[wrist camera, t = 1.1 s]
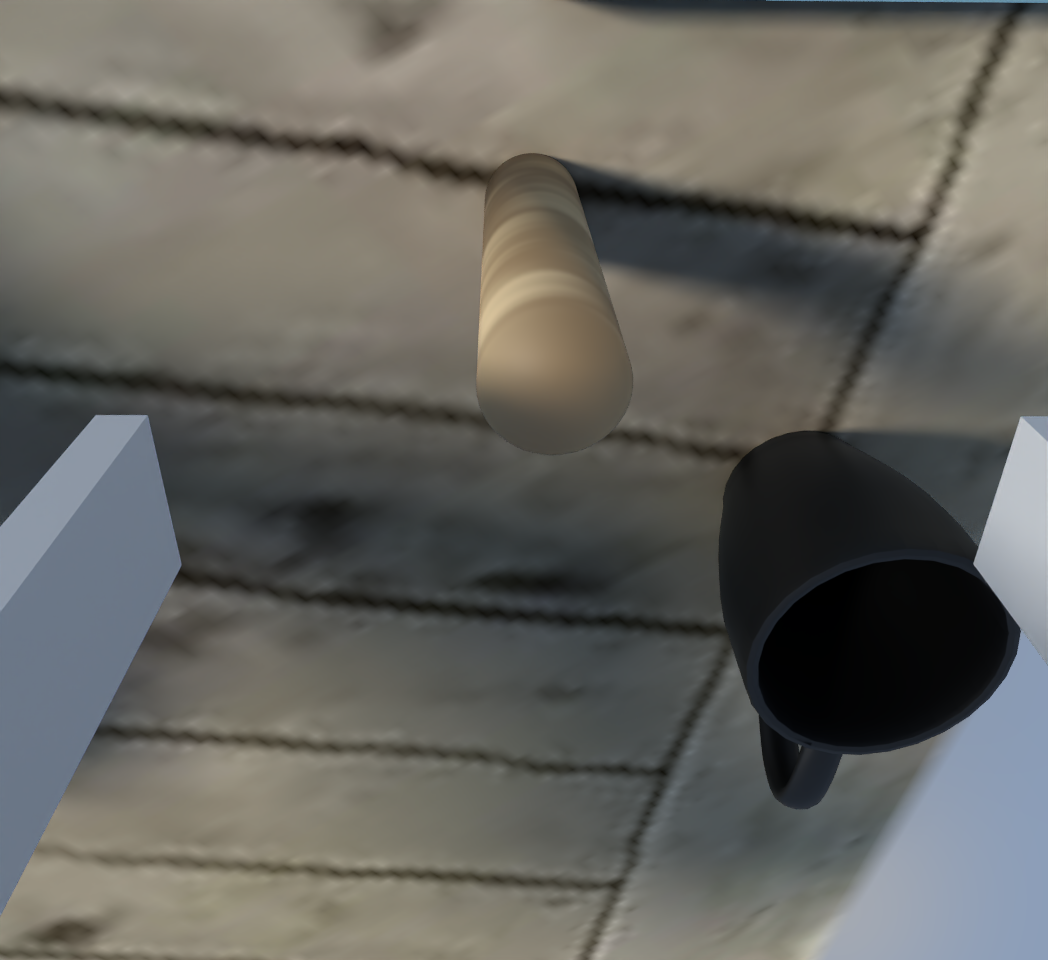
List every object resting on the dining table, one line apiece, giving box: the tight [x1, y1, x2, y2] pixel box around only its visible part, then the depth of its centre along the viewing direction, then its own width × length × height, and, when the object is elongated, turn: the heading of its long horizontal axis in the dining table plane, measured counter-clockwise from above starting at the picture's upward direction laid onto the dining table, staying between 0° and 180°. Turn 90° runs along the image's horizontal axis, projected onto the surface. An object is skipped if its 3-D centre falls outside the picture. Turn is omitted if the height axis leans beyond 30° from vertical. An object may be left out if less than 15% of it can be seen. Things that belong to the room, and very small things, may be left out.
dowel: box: [476, 153, 633, 455], centre depth 23 cm, size 3×3×14 cm
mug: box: [718, 431, 1021, 809], centre depth 32 cm, size 8×12×10 cm
